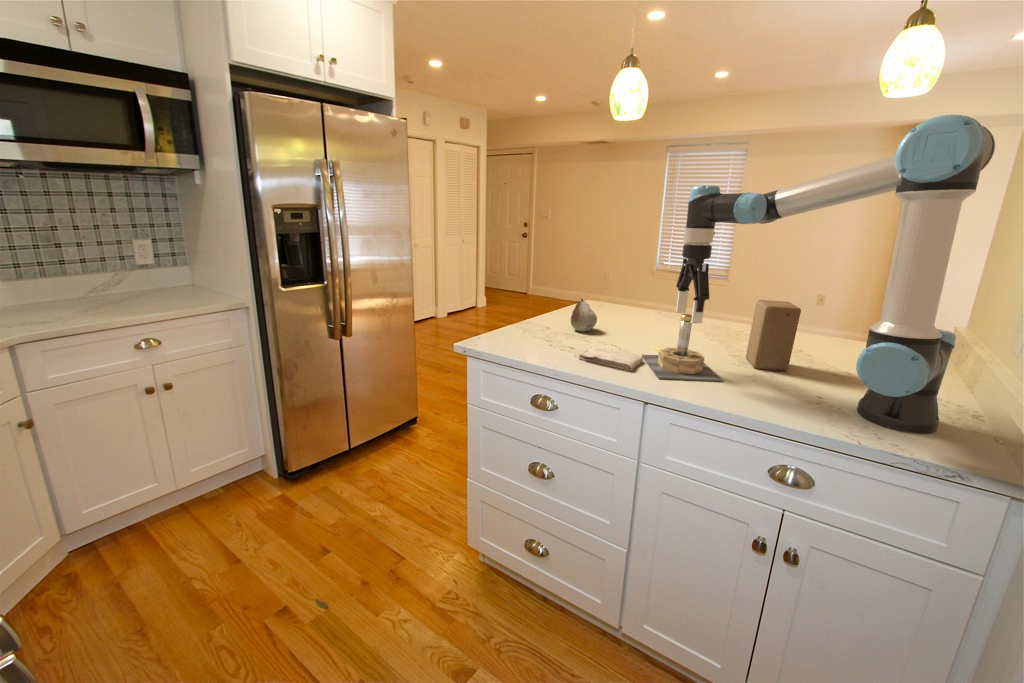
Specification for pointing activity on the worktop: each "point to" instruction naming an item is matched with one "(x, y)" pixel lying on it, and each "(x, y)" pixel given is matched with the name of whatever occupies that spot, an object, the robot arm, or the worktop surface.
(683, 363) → the wooden ring socket base
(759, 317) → the wooden block
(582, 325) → the fruit
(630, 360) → the washcloth
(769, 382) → the worktop surface
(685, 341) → the brass-banded steel rod
